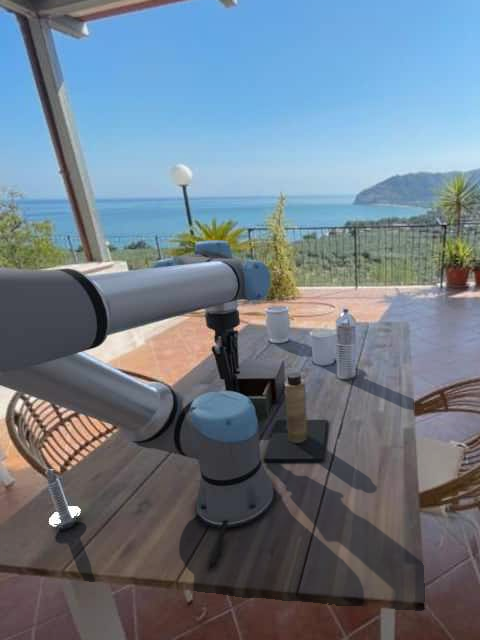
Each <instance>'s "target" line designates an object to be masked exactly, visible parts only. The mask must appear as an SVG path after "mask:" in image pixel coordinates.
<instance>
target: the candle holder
mask: <svg viewBox="0 0 480 640" xmlns="http://www.w3.org/2000/svg"><path fill="white" fill-rule="evenodd" d="M309 334H310V341H311V354H312V361H313V363H314V364H315V365H317V366H330V365H333V364H334V363H335V361H336V330H334V329H332V328H315V329H313V330H311V331H310V332H309Z"/></svg>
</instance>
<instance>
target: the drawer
mask: <svg viewBox="0 0 480 640" xmlns="http://www.w3.org/2000/svg"><path fill="white" fill-rule="evenodd" d="M238 389H239V393H240V394H242V395H244V396H246V397H247V398H249V399H250V400H251V402H252V403H253V405H254V407H255V412H256V416H257V419H258V421H259V420H268V419H269V410H270V408H271V405H272V404H273V403H272V400H273V398H274V389H273V381H238Z"/></svg>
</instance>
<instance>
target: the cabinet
mask: <svg viewBox="0 0 480 640" xmlns="http://www.w3.org/2000/svg"><path fill="white" fill-rule="evenodd" d="M237 371H240V374H236V375H237V381H273V389H274V398H273V400H272V403H271V404H278V402H279V399H280V397H281V395H282V392H283V389H284V387H285V386H284V382H285V381H286V372H285V371H286V370H285V360H284V358H243V359H242V361H241V362H240V363H239V368H238V369H237Z"/></svg>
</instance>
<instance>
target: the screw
mask: <svg viewBox="0 0 480 640" xmlns="http://www.w3.org/2000/svg"><path fill="white" fill-rule="evenodd" d="M44 475H45V477H46V481H47V484H46V486H47V489H48V491H49V494H50V496H51V499H52V502H53V505H54V508H55V511H56V512H54V513H53V514H52V515H51V517H50V518H49V521H48V522H49V525H50V526H51V527H53V528H59V529H61V530H67V529H69V528H72V527H73V526H75V524H76V522H77V519H78V518H79V517H80V515H81V509H80V508H79V507H78V506H69V505H68V501H67V499H66V496H65V493H64V490H63V486H62V484H61V481H60V480H59V478H58V477H57V475H56V473H55V470H54V468H48V469H47V470H45V471H44Z"/></svg>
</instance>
